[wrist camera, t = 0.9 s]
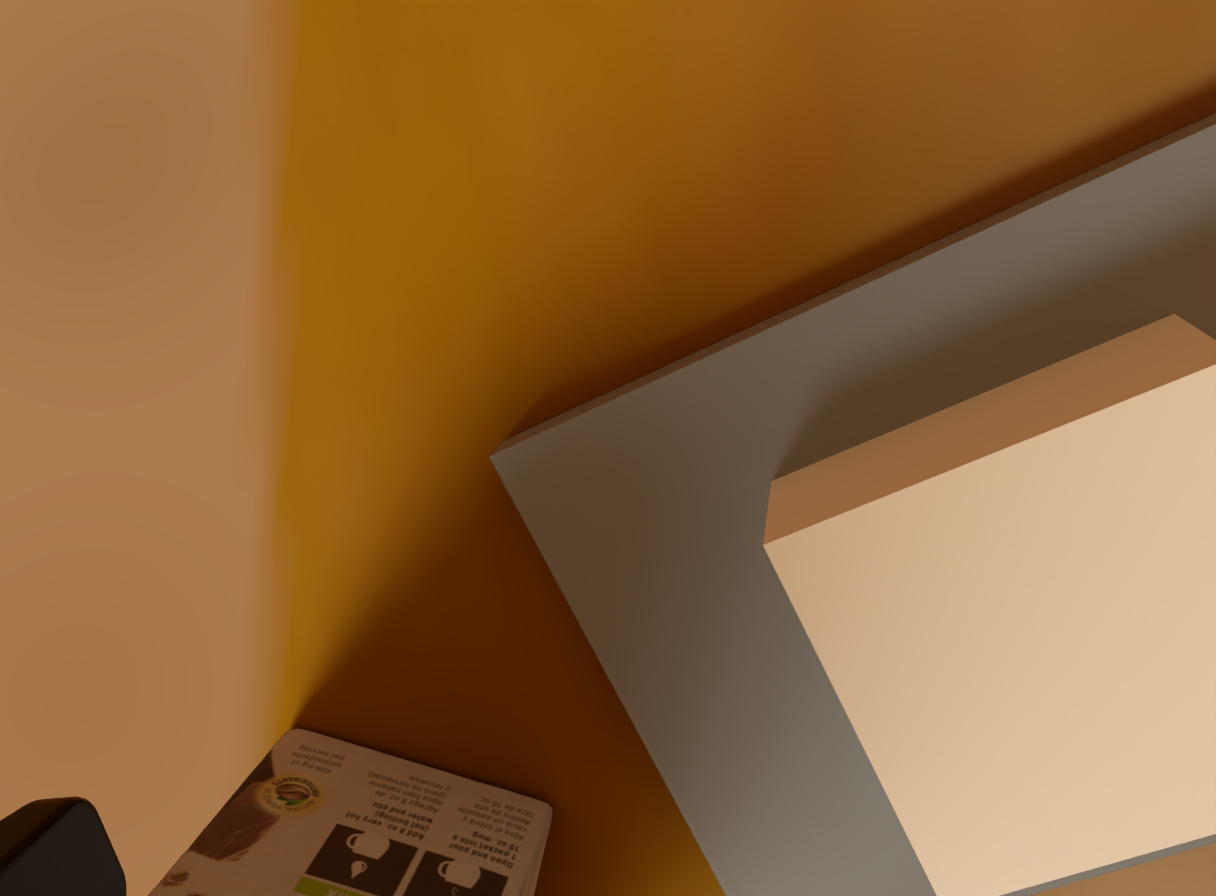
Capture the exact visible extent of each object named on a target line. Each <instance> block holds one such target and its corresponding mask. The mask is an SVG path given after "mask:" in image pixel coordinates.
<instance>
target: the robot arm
mask: <svg viewBox="0 0 1216 896" xmlns="http://www.w3.org/2000/svg"><path fill="white" fill-rule="evenodd" d="M0 896H126V880H125V875H124V872H123V869H122V867H121V865H120V863H119V860H118V858H117V856H116V854H115V851H114V849H113V847H112V844H111V842H110V840H109V837H108V835H107V833H106V830H105V828H104V826H103V824H102V821H101V819H100V817H99V814H98V812H97V810H96V809H95V807H94V806H93V805H92V804H91V803H90V802H89V801H88V800H87V799H84V798H80V797H64V798H52V799H42V800H36V801H33V802H30V803H28V804H26V805H25V806H23V807H21V808H20V809H18V810H17V811H15V812H14V813H12V814H10V815H9V816H7V817H5V818H4V819H2V820H1V821H0Z"/></svg>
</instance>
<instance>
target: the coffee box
mask: <svg viewBox="0 0 1216 896" xmlns="http://www.w3.org/2000/svg"><path fill="white" fill-rule="evenodd" d="M552 813H553V810H552V807H551V806H550V805H549V804H548V803H545V802H543V801H540V800H537V799H534V798H531V797H527V796H524V795H520V794H517V793H514V792H511V791H508V790H505V789H501V788H498V787H495V786H491V785H488V784H484V783H481V782H477V781H474V780H471V779H467V778H464V777H460V776H457V775H454V774H451V773H448V772H445V771H442V770H438V769H435V768H431V767H428V766H425V765H421V764H418V763H415V762H412V761H408V760H405V759H402V758H398V757H395V756H392V755H388V754H385V753H382V752H379V751H375V750H372V749H369V748H365V747H362V746H359V745H355V744H352V743H349V742H345V741H342V740H339V739H335V738H332V737H329V736H325V735H322V734H318V733H315V732H311V731H308V730H304V729H292V730H290V731H288V732H286V733H285V734H284V735H283V736H282V737H281V738H280V739H279V740H278V741H277V742H276V743H275V744H274V746H273V747H272V748H271V750H270V751H269V752H268V754H267V755H266V756H265V758H264V759H263V760H262V761H261V762H260V763H259V765H258V766H257V767H256V768H255V769H254V770H253V771H252V773H251V774H250V775H249V776H248V777H247V779H246V780H245V781H244V782H243V783H242V785H241V786H240V787H239V788H238V790H237V791H236V792H235V793H234V794H233V796H232V797H231V798H230V799H229V800H228V802H227V803H226V804H225V805H224V806H223V808H222V809H221V810H220V811H219V812H218V813H217V815H216V816H215V817H214V818H213V819H212V821H211V822H210V823H209V824H208V825H207V827H206V828H205V829H204V830H203V831H202V832H201V834H200V835H199V836H198V838H197V839H196V840H195V841H194V842H193V844H192V845H191V846H190V847H189V849H188V850H187V851H186V852H185V853H184V854H183V855H182V856H181V857H180V858H179V860H178V861H177V862H176V863H175V864H174V865H173V867H172V868H171V869H170V870H169V871H168V873H167V874H166V875H165V877H164V878H163V879H162V880H161V881H160V883H159V884H158V885H157V886H156V887H155V888H154V889H153V890H152V891H151V893H150V894H149V895H148V896H534V893H535V889H536V884H537V880H538V876H539V871H540V867H541V862H542V858H543V854H544V849H545V845H546V841H547V837H548V833H549V829H550V824H551V820H552Z"/></svg>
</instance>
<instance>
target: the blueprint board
mask: <svg viewBox="0 0 1216 896" xmlns="http://www.w3.org/2000/svg"><path fill="white" fill-rule="evenodd" d="M489 458H490V460H491V461H492V463H493V465H494V467H495V469H496V471H497V473H498V474H499V476H500V478H501V480H502V482H503V484H504V486H505V487H506V489H507V491H508V493H509V495H510V497H511V498H512V500H513V502H514V504H515V506H516V508H517V510H518V511H519V513H520V515H521V517H522V519H523V521H524V523H525V524H526V526H527V528H528V530H529V532H530V534H531V535H532V537H533V539H534V541H535V543H536V545H537V547H538V548H539V550H540V552H541V554H542V556H543V558H544V560H545V561H546V563H547V565H548V567H549V569H550V571H551V573H552V574H553V576H554V578H555V580H556V582H557V584H558V585H559V587H560V589H561V591H562V593H563V595H564V597H565V598H566V600H567V602H568V604H569V606H570V608H571V610H572V611H573V613H574V615H575V617H576V619H577V621H578V623H579V624H580V626H581V628H582V630H583V632H584V634H585V635H586V637H587V639H588V641H589V643H590V645H591V647H592V648H593V650H594V652H595V654H596V656H597V658H598V660H599V661H600V663H601V665H602V667H603V669H604V671H605V673H606V674H607V676H608V678H609V680H610V682H611V684H612V685H613V687H614V689H615V691H616V693H617V695H618V697H619V698H620V700H621V702H622V704H623V706H624V708H625V710H626V711H627V713H628V715H629V717H630V719H631V721H632V723H633V724H634V726H635V728H636V730H637V732H638V734H639V735H640V737H641V739H642V741H643V743H644V745H645V747H646V748H647V750H648V752H649V754H650V756H651V758H652V760H653V761H654V763H655V765H656V767H657V769H658V771H659V772H660V774H661V776H662V778H663V780H664V782H665V784H666V785H667V787H668V789H669V791H670V793H671V795H672V797H673V798H674V800H675V802H676V804H677V806H678V808H679V810H680V811H681V813H682V815H683V817H684V819H685V821H686V822H687V824H688V826H689V828H690V830H691V832H692V834H693V835H694V837H695V839H696V841H697V843H698V845H699V847H700V848H701V850H702V852H703V854H704V856H705V858H706V860H707V861H708V863H709V865H710V867H711V869H712V871H713V872H714V874H715V876H716V878H717V880H718V882H719V884H720V885H721V887H722V889H723V891H724V893H725V895H726V896H1029V895H1032V894H1036V893H1039V892H1043V891H1046V890H1050V889H1053V888H1057V887H1060V886H1064V885H1067V884H1071V883H1075V882H1078V881H1082V880H1085V879H1089V878H1092V877H1096V876H1099V875H1103V874H1106V873H1110V872H1113V871H1117V870H1120V869H1124V868H1128V867H1131V866H1135V865H1138V864H1142V863H1145V862H1149V861H1152V860H1156V859H1159V858H1163V857H1166V856H1170V855H1173V854H1177V853H1181V852H1184V851H1188V850H1191V849H1195V848H1198V847H1202V846H1205V845H1209V844H1212V843H1216V113H1214V114H1212V115H1210V116H1208V117H1205V118H1203V119H1201V120H1199V121H1197V122H1194V123H1192V124H1190V125H1188V126H1186V127H1184V128H1181V129H1179V130H1177V131H1175V132H1173V133H1171V134H1168V135H1166V136H1164V137H1162V138H1160V139H1158V140H1155V141H1153V142H1151V143H1149V144H1147V145H1145V146H1142V147H1140V148H1138V149H1136V150H1134V151H1131V152H1129V153H1127V154H1125V155H1123V156H1121V157H1118V158H1116V159H1114V160H1112V161H1110V162H1108V163H1105V164H1103V165H1101V166H1099V167H1097V168H1095V169H1092V170H1090V171H1088V172H1086V173H1084V174H1082V175H1079V176H1077V177H1075V178H1073V179H1071V180H1069V181H1066V182H1064V183H1062V184H1060V185H1058V186H1055V187H1053V188H1051V189H1049V190H1047V191H1045V192H1042V193H1040V194H1038V195H1036V196H1034V197H1032V198H1029V199H1027V200H1025V201H1023V202H1021V203H1019V204H1016V205H1014V206H1012V207H1010V208H1008V209H1006V210H1003V211H1001V212H999V213H997V214H995V215H992V216H990V217H988V218H986V219H984V220H982V221H979V222H977V223H975V224H973V225H971V226H969V227H966V228H964V229H962V230H960V231H958V232H956V233H953V234H951V235H949V236H947V237H945V238H943V239H940V240H938V241H936V242H934V243H932V244H929V245H927V246H925V247H923V248H921V249H919V250H916V251H914V252H912V253H910V254H908V255H906V256H903V257H901V258H899V259H897V260H895V261H893V262H890V263H888V264H886V265H884V266H882V267H880V268H877V269H875V270H873V271H871V272H869V273H867V274H864V275H862V276H860V277H858V278H856V279H853V280H851V281H849V282H847V283H845V284H843V285H840V286H838V287H836V288H834V289H832V290H830V291H827V292H825V293H823V294H821V295H819V296H817V297H814V298H812V299H810V300H808V301H806V302H804V303H801V304H799V305H797V306H795V307H793V308H790V309H788V310H786V311H784V312H782V313H780V314H777V315H775V316H773V317H771V318H769V319H767V320H764V321H762V322H760V323H758V324H756V325H754V326H751V327H749V328H747V329H745V330H743V331H741V332H738V333H736V334H734V335H732V336H730V337H727V338H725V339H723V340H721V341H719V342H717V343H714V344H712V345H710V346H708V347H706V348H704V349H701V350H699V351H697V352H695V353H693V354H691V355H688V356H686V357H684V358H682V359H680V360H678V361H675V362H673V363H671V364H669V365H667V366H665V367H662V368H660V369H658V370H656V371H654V372H651V373H649V374H647V375H645V376H643V377H641V378H638V379H636V380H634V381H632V382H630V383H628V384H625V385H623V386H621V387H619V388H617V389H615V390H612V391H610V392H608V393H606V394H604V395H602V396H599V397H597V398H595V399H593V400H591V401H588V402H586V403H584V404H582V405H580V406H578V407H575V408H573V409H571V410H569V411H567V412H565V413H562V414H560V415H558V416H556V417H554V418H552V419H549V420H547V421H545V422H543V423H541V424H539V425H536V426H534V427H532V428H530V429H528V430H525V431H523V432H521V433H519V434H517V435H515V436H512V437H510V438H508V439H506V440H504V441H502V443H501V444H500V445H499V446H498V447H497V448H496V449H495V450H494V452H493V453H492V454H491V455H490V456H489Z"/></svg>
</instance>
